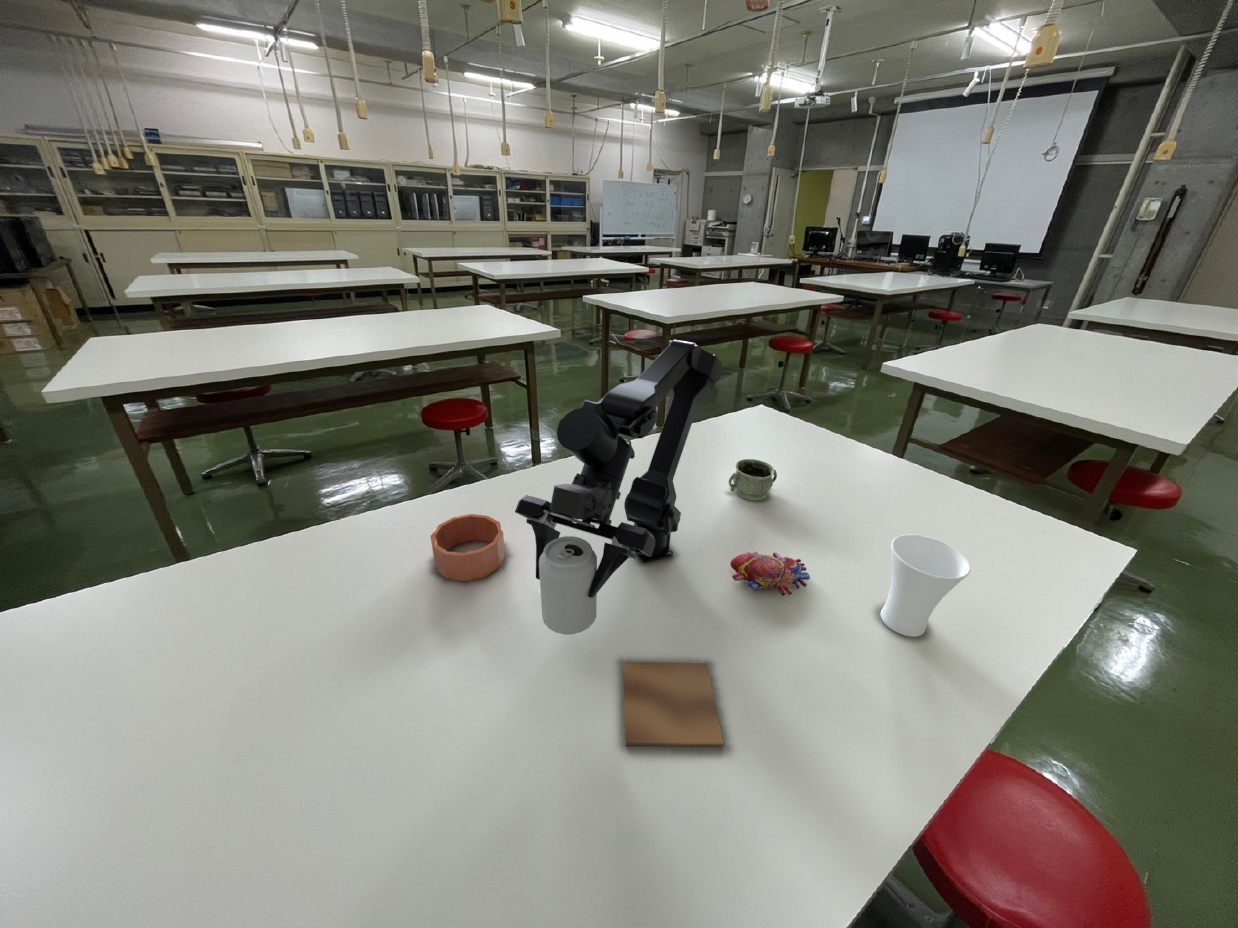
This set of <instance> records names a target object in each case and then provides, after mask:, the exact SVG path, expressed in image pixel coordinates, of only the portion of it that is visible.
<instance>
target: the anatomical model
mask: <svg viewBox="0 0 1238 928" xmlns="http://www.w3.org/2000/svg"><path fill="white" fill-rule="evenodd" d="M730 567H731V568H732V570H733V571H734V572H736V573H734V574H733V575H732V579H733V580H734V581H735V582H739V581H745V582H747V583H746V584H747V586H748V587H749V588H750V589H751V590H757V589H766V590H767V589H776V590H778V591H779V594H780V595H781V596H786V595H787V594H788V595H789V596H791V595H792V594H793V591H792V590H791V588H790V587H791V586H793V585H794V587H795V588H796V589H800V588H801V586H802V587H805V588H806V587H807V585H808V584H807V582H806V581H807V580H810V579H811V575H810V574H809V572H806V571H807V567H805V563H803V562H802V560H801V559H800V558H796V559H793V558H791V557H787V556H781V555H780V554H779V553H778V552H776V551H774V552H773V553H772V555H769V554H762V553H758V552H757V551H753V552H750V551H747V552H746V553H742V554H738V555H737V556H735V557H733V558H732V559H731V561H730ZM805 580H806V581H805ZM800 585H801V586H800Z"/></svg>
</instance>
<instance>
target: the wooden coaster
mask: <svg viewBox="0 0 1238 928" xmlns="http://www.w3.org/2000/svg"><path fill="white" fill-rule="evenodd" d="M622 673H623V678H622V679H623V702H624V703H623V705H624V706H623V707H624V713H623V714H624V743H625V744H624V745H625V746H692V747H693V746H694V747H695V746H697V747H698V746H701V747H702V746H704V747H705V746H707V747H709V746H711V747H718V746H719V747H720V746H721V747H723V746H724V739H723V734H722V730H721V725H720V719H719V715H718V710H717V706H716V700H715V696H714V691H713V690H714V689H713V686H712V681H711V677H710V671H709V667H708V663H707V662H682V661H681V662H680V661H679V662H676V661H675V662H672V661H669V662H668V661H664V662H663V661H662V662H661V661H623V662H622Z"/></svg>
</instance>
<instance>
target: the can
mask: <svg viewBox="0 0 1238 928" xmlns="http://www.w3.org/2000/svg"><path fill="white" fill-rule="evenodd" d="M597 569H598V556H597V554H596V552H595V551H594V550H593V547H592V544H591V543H590V542H588V541H587V540H586V539H583V538H581V537H577V536H573V535H572V536H571V535H566V536H565V535H564V536H561V537H560V536H559V538H557V539H554V540H552V541H551V542H549V543H548V544H547V545H546V547H545V548H544V552H543V553H542V555H541V556H540V559H539V574H540V580H539V587H540V604H541V606H540V607H541V617H542V621H543V624H544V625H545V626H546V627H547V628H548V629H549V630H551V631H552V632H554V633H557V634H560V635H574V634H575V635H576V634H579V633H583V632H584V631H586V630H587V629H589V628H590V627H591V626H592V625H593V624H594V623H595V620H596V618H597V608H598V606H597V604H598V603H597V600H598V595H597V594H598V593H597V594H596V595H595V596H594V597H593V598H590V597H588V595H589V591H590V587H591V584H592V581H593V579H594V577H595V574H596V572H597Z"/></svg>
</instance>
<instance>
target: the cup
mask: <svg viewBox="0 0 1238 928" xmlns="http://www.w3.org/2000/svg"><path fill="white" fill-rule="evenodd" d="M890 553H891V582H890V588H889V592H888V595H887V599H886V602H885V603H884V605H883V607H882V609H881V611H880V618H881V620H882V622H883V623H884V624H885V625H886V626H887V627H888V628H889V629H891V630H892V631H894V632H896V633H898V634H900V635H902V636H906V637H911V638H912V637H913V638H915V637H921V636H922V635H923V634H925V632H926V629H927V625H928V622H929V618H930V617H931V615H932V614H933V612H934V610H935V608H936V607H937V606H938V605H939V603H940V602H941V601H942V599H943V598H944V597H946V595H948V594H949V593H950V592H951V591H952V590H953V589H955V587H956V586H957V585H958V584H960V583H961V582H962V581H963V580H965V578H967V577H968V576H969V575H970V573H971V571H972V567H971V563H970V562H969V560H968V559H967V557H966V556H965V555H964V554H963V553H962V552H961V551H959V550H958V549H957V548H955V547H953V546H952V545H950V544H948V543H945V542H944V541H941V540H939V539H936V538H934V537H930V536H926V535H922V534H916V533H915V534H910V533H907V534H901V535H898V536H897V537H894V538H893V539H892V541H891V542H890Z"/></svg>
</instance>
